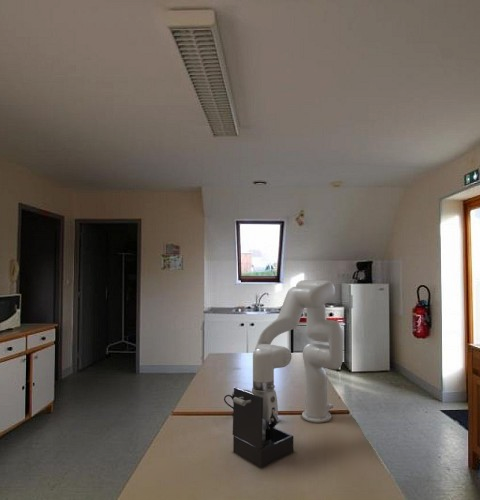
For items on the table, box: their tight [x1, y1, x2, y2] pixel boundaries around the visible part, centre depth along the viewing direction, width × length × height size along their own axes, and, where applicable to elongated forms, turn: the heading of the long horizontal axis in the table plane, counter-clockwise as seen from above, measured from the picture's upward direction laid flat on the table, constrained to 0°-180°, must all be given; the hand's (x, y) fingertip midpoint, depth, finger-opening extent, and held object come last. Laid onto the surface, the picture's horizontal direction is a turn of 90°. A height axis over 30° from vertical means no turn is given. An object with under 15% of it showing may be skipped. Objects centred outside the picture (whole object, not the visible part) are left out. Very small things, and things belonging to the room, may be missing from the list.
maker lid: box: [232, 386, 263, 449], centre depth 129 cm, size 16×15×5 cm
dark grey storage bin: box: [232, 426, 295, 469], centre depth 135 cm, size 16×15×6 cm
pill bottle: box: [262, 420, 271, 448], centre depth 135 cm, size 5×5×10 cm
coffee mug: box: [223, 388, 252, 409], centre depth 169 cm, size 12×9×10 cm
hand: (263, 436), depth 135 cm, fingers closed on pill bottle, 5 cm apart
